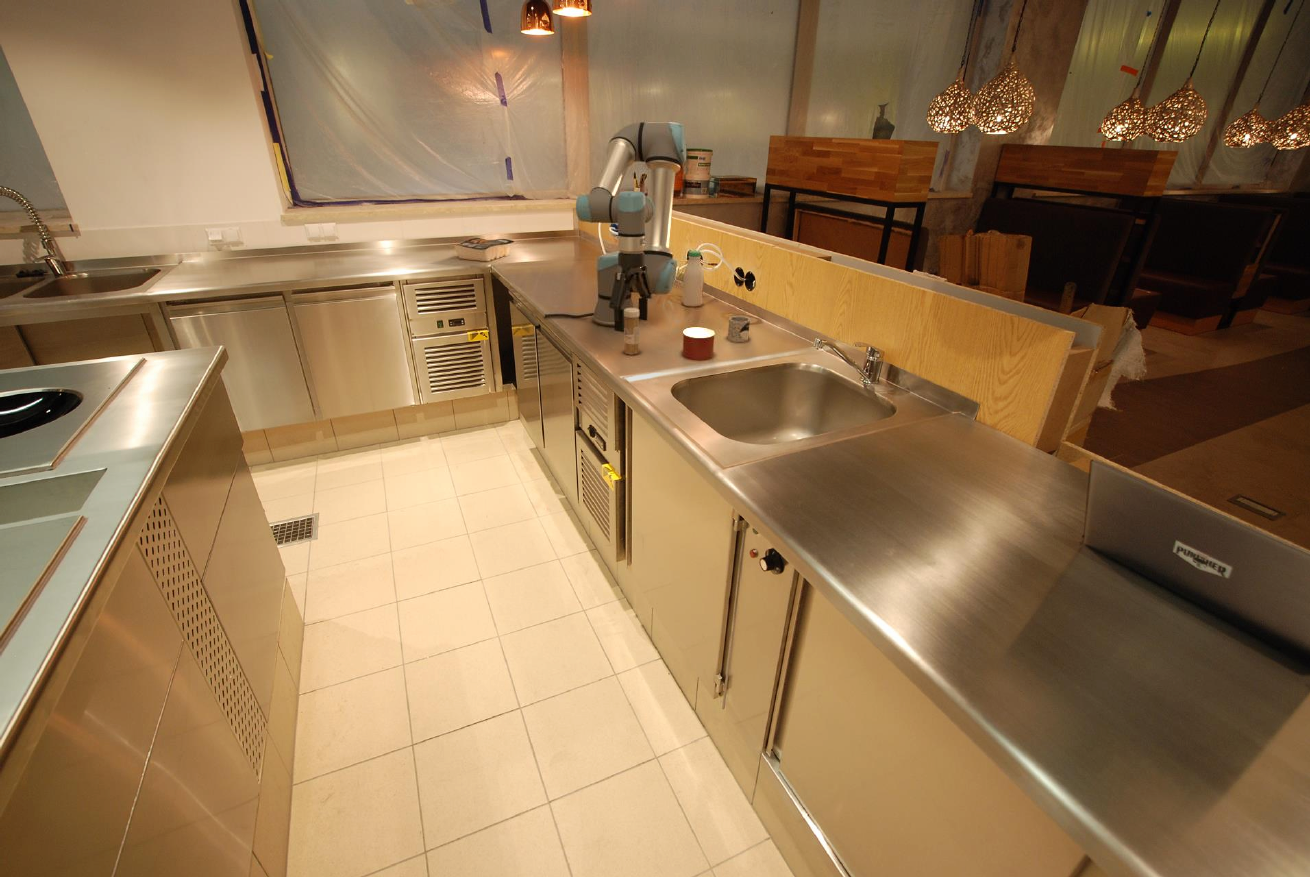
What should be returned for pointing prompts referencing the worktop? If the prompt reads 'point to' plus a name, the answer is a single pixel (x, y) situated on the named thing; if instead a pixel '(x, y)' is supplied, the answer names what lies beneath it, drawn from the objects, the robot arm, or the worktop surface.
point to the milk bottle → (693, 280)
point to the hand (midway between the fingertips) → (631, 325)
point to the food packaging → (483, 249)
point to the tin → (698, 343)
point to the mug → (738, 329)
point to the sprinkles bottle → (631, 331)
